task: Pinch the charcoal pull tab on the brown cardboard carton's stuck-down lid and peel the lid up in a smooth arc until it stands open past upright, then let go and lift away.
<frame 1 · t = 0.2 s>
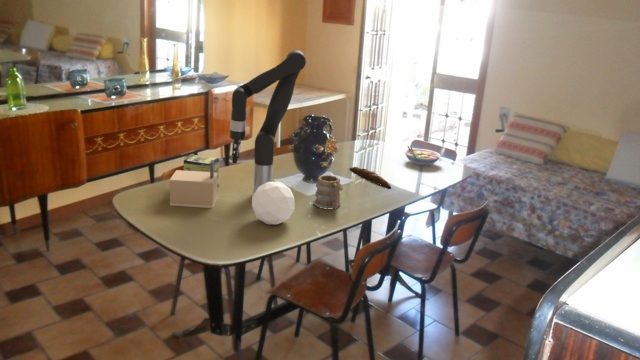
hand: (235, 160, 277), 18 cm above the table, tool pointing down, fingers open, 8 cm apart
carton: (194, 201, 270), on the table
protein box: (201, 188, 289), on the table
bread: (369, 179, 323), on the table
ball: (272, 222, 254), on the table
lid flap: (194, 168, 265), point 16 cm above the table, hinge at 0.0°
tankard: (329, 208, 276), on the table
ramen bowl: (421, 164, 358), on the table
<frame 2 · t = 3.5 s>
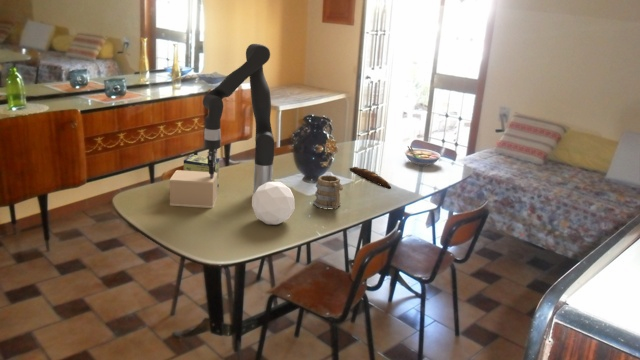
hand: (212, 172, 266), 15 cm above the table, tool pointing down, fingers closed on lid flap, 4 cm apart
lid flap: (194, 168, 265), point 16 cm above the table, hinge at 0.0°, touching gripper
everything else where it was.
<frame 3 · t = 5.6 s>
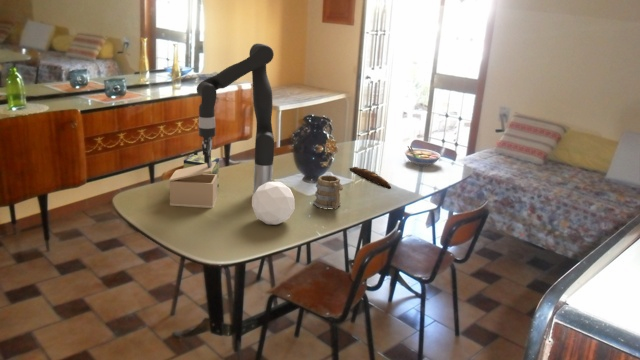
hand: (207, 161, 264), 21 cm above the table, tool pointing down, fingers closed on lid flap, 4 cm apart
lid flap: (190, 163, 264), point 19 cm above the table, hinge at 16.6°, touching gripper
everything else where it was.
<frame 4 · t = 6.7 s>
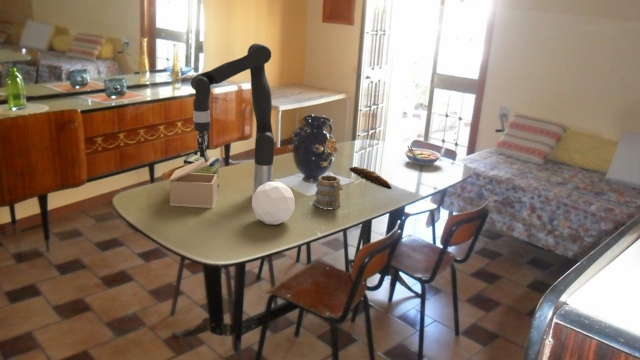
hand: (203, 155, 263), 23 cm above the table, tool pointing down, fingers closed on lid flap, 4 cm apart
lid flap: (187, 160, 263), point 20 cm above the table, hinge at 26.3°, touching gripper
everything else where it was.
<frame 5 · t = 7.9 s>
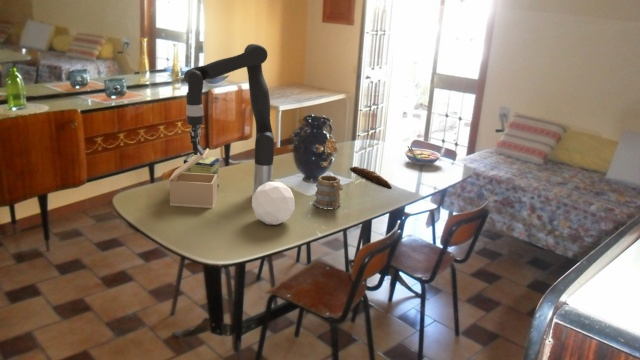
hand: (196, 149, 262), 26 cm above the table, tool pointing down, fingers closed on lid flap, 4 cm apart
lid flap: (183, 157, 263), point 22 cm above the table, hinge at 38.3°, touching gripper
everything else where it was.
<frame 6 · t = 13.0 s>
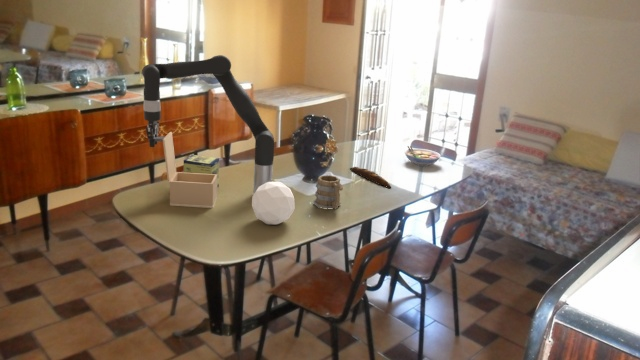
hand: (153, 145, 261), 27 cm above the table, tool pointing down, fingers closed on lid flap, 4 cm apart
lid flap: (161, 156, 262), point 22 cm above the table, hinge at 95.7°, touching gripper
everything else where it was.
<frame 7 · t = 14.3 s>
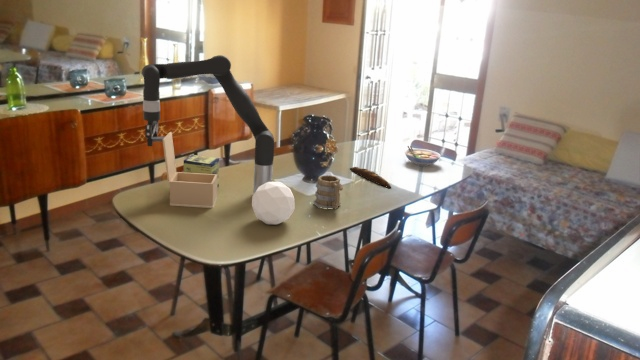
hand: (152, 143, 260), 28 cm above the table, tool pointing down, fingers open, 8 cm apart
lid flap: (161, 156, 263), point 22 cm above the table, hinge at 96.0°
everything else where it was.
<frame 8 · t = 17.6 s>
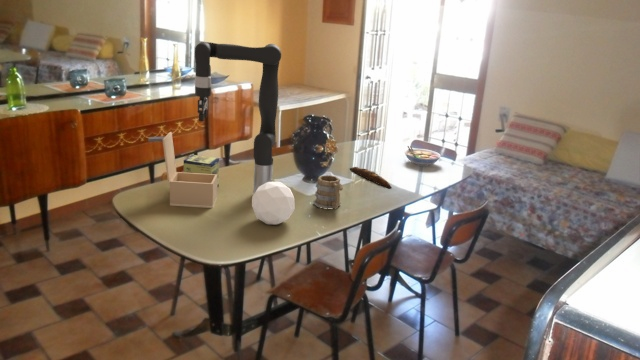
hand: (202, 119, 269), 38 cm above the table, tool pointing down, fingers open, 8 cm apart
nothing on the table moved.
at the end: lid flap at +96° (first picture: +0°); the gripper is holding nothing; protein box moved 0.3 cm from its start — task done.
